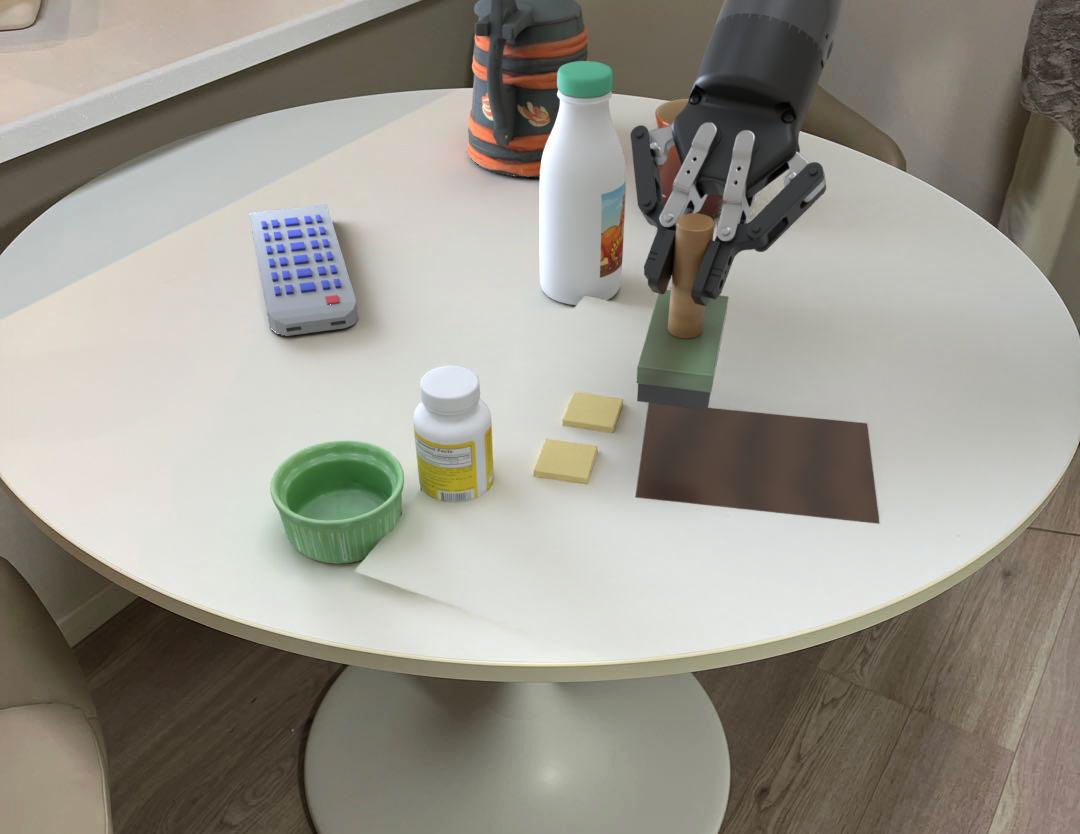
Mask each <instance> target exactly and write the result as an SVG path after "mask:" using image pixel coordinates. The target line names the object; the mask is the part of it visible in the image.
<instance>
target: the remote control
mask: <svg viewBox="0 0 1080 834" xmlns="http://www.w3.org/2000/svg"><path fill="white" fill-rule="evenodd" d="M248 214H249V219H250V224H251V230H252V231H251V232H252V236H253V242H254V248H255V254H256V259H257V265H258V270H259V276H260V282H261V288H262V293H263V297H264V302H265V307H266V312H267V313H266V314H267V320H268V324H269V328H270V327H271V328H272V329H273V330H274V331H276V333H279V334H281V335H280V336H284V335H285V337H290V336H295V335H304V334H311V333H319V332H327V331H334V330H335V331H336V330H342V329H347V328H349V327H352V326H354V325H356V323H357V321H358V320H359V310H358V304H357V299H356V295H355V292H354V289H353V285H352V283H351V280H350V276H349V273H348V270H347V266H346V263H345V259H344V256H343V253H342V249H341V247H340V244H339V240H338V237H337V234H336V230H335V227H334V223H333V220H332V217H331V213H330V209H329V207H328V204H317V205H308V206H299V207H291V208H281V209H271V210H263V211H254V212H249V213H248ZM330 304H331V305H330ZM276 333H275V334H276ZM282 334H283V335H282Z"/></svg>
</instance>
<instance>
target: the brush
mask: <svg viewBox="0 0 1080 834" xmlns="http://www.w3.org/2000/svg"><path fill="white" fill-rule="evenodd" d="M714 233H715V220H714V219H713V217H712V218H711V217H709V216H707V215H704V214H698V213H690V214H685V215H682V216H681V217H679V218H678V220H677V223H676V235H675V247H674V259H673V270H672V276H671V283H670V284H671V285H670V289H667V290H666V292H665V293H664V294H663V295H662V294H658V293H657V296H656V300H655V304H654V308H653V311H652V314H651V318H650V321H649V324H648V328H647V332H646V334H645V335H646V336H645V339H644V342H643V346H642V349H641V353H640V355H639V359H638V363H637V367H636V384H637V394H636V395H637V396H636V401H637V402H639V403H646V404H649V403H655V404H662V405H670V406H678V407H686V408H693V409H701V410H708V408H709V405H710V399H711V395H712V390H713V386H714V385H713V384H714V380H715V376H716V369H717V365H718V360H719V354H720V349H721V344H722V339H723V334H724V328H725V324H726V320H727V319H726V318H727V313H728V308H729V307H728V306H729V295H721V294H720V295H719V296H718V297H717V299H716V300H715V299H711V298H710V300H709V302H708V304H707V306H702V305H699V304H695V302H694V301H693V299H692V297H691V291H692V287H693V285H694V282H695V279H696V277H697V274H698V271H699V269H700V266H701V263H702V260H703V258H704V255H705V252H706V250H707V247H708V244H709V241H710V240H713V241H714Z"/></svg>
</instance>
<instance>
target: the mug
mask: <svg viewBox="0 0 1080 834" xmlns="http://www.w3.org/2000/svg"><path fill="white" fill-rule="evenodd" d="M688 100H689V98H679V99H674V100H669V101H666V102H664V103H662V104H660V105H659V106H658V107H657V108H656V109H655V114H654V115H655V120H656V126H657V129H660V128H664V127H668V126H671V125H672V123H673V120H674V119H675V117H676V116H677V115H678V114H679V113H680V112H681V111H682V110H683V109H684V107H685V106H686V104H687V103H688ZM680 168H681V164H680V160H679V157H678V153H677V150H676V147H675V145H673V146H672V147H671V148H670V149H669V151H668V156H667V160H666V161H665V162H664V164H662V165H659V173H660V182H661V191H662V201H663V204H664V205H666V203H667V201H668V199H669V197H670V195H671V193H672V187H673V183H674V180H675V178H676V176H677V174H678V172H679V170H680ZM722 207H723V196H722V195H720V194H713V195H707V197H706V199H705V201H704V203H703V205H702V207H701V209H700V210H699V211H698V212H696V213H698V214H704V215H707V216H709V217H711V218H712V219H713V218H715V217H716V216H717V215H718V214H719V213H721V211H722Z"/></svg>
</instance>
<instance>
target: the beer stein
mask: <svg viewBox="0 0 1080 834" xmlns="http://www.w3.org/2000/svg"><path fill="white" fill-rule="evenodd" d="M473 11H474V14H475V15H476V16H477V17H478V21H476V22H475V23H474V45H473V55H472V64H471V69H472V72H473V84H472V85H473V86H472V100H471V109H470V111H469V113H468V119H467V126H468V128H467V134H468V139H467V144H468V145H467V151H466V152H467V154H468V156H469V158H470V159H471V158H472V160H473V161H475V162H476V163H477V164H479V165H480V166H481V167H483V168H482V169H484V168H485V169H484V170H486V169H488V170H487V171H489V170H490V171H489V172H491V171H493V172H492V173H495V172H498V173H497V174H500V173H502V174H501V175H504V174H506V175H505V176H509V175H511V176H510V177H512V176H513V175H515V176H513V177H517V176H516V175H519V176H518V177H521V176H522V177H524V176H525V177H524V178H529V177H535V178H536V177H537V178H540V168H541V160H542V156H543V152H544V148H545V145H546V143H547V141H548V138H549V136H550V134H551V132H552V130H553V127H554V125H555V122H556V119H557V115H558V112H559V107H560V99H559V98H558V96H557V93H558V87H557V73H558V70H559V68H560V67H561V66H563V65H565V64H567V63H571V62H577V61H590V58H589V52H588V29H587V26H586V25H585V24H584V17H583V11H582V7H581V5H580V3H578V2H577V1H576V0H478V1H477V2H475V4H474V7H473ZM472 160H471V161H472ZM473 161H472V162H473ZM477 164H476V165H477ZM480 166H479V167H480ZM481 167H480V168H481Z"/></svg>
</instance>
